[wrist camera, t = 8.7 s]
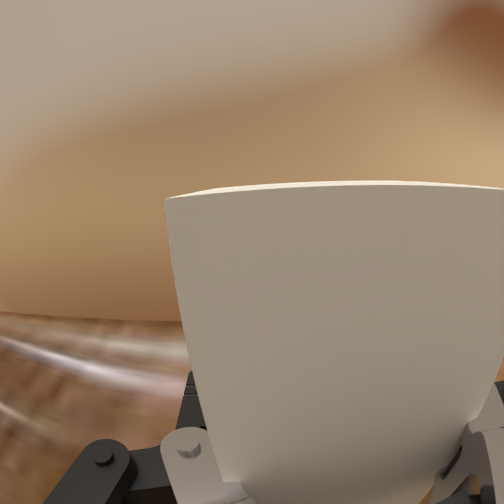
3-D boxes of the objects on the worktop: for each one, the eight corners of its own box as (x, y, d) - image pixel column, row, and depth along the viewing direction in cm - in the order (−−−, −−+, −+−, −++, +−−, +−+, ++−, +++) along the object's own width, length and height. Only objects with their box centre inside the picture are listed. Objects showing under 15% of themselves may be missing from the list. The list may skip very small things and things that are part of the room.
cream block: (255, 562, 6) (163, 199, 3) (250, 470, 11) (214, 188, 8) (388, 535, 6) (532, 192, 3) (357, 454, 11) (391, 180, 8)
